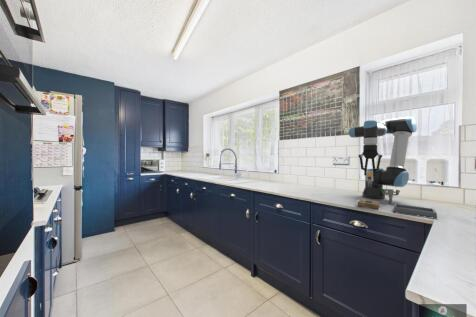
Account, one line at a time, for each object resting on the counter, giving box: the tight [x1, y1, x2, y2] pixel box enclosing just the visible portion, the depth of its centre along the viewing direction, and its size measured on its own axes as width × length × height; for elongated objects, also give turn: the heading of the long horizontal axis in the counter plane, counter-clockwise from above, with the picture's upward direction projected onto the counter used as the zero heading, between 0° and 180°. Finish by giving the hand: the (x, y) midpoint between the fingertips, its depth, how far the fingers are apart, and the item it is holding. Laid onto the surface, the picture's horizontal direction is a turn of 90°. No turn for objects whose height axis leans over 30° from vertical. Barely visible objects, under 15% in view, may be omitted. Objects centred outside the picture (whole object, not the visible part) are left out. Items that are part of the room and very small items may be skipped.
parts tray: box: [393, 203, 438, 219], centre depth 116 cm, size 11×18×3 cm, turn 52°
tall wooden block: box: [368, 171, 372, 187], centre depth 130 cm, size 5×2×10 cm, turn 142°
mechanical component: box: [382, 188, 401, 205], centre depth 138 cm, size 3×10×10 cm, turn 78°
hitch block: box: [357, 198, 380, 211], centre depth 130 cm, size 11×11×3 cm
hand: (369, 180), depth 130 cm, fingers closed on tall wooden block, 2 cm apart
